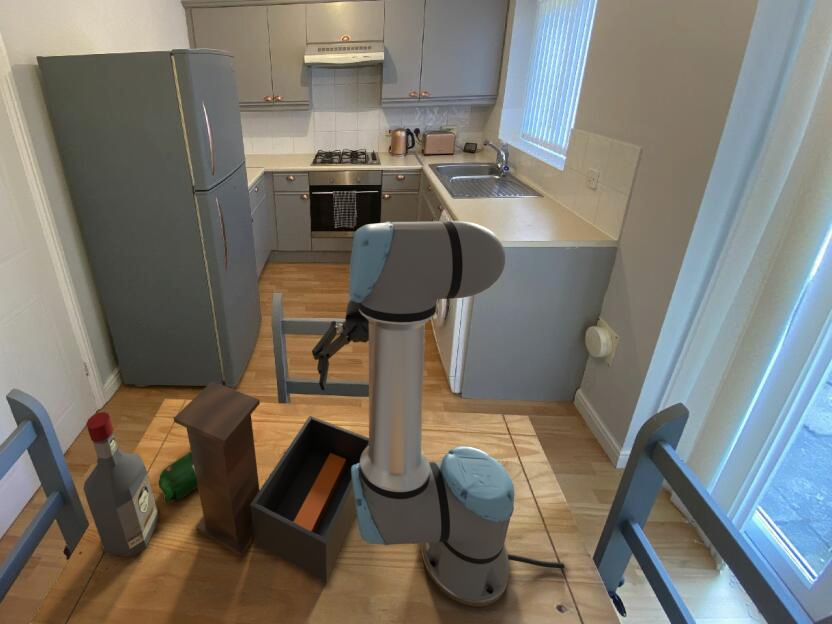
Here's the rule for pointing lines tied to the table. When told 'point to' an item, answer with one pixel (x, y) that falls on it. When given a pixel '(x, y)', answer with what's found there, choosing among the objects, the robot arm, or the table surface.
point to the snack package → (178, 478)
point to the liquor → (119, 493)
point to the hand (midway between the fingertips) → (354, 387)
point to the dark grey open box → (291, 489)
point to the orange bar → (321, 493)
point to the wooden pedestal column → (223, 463)
